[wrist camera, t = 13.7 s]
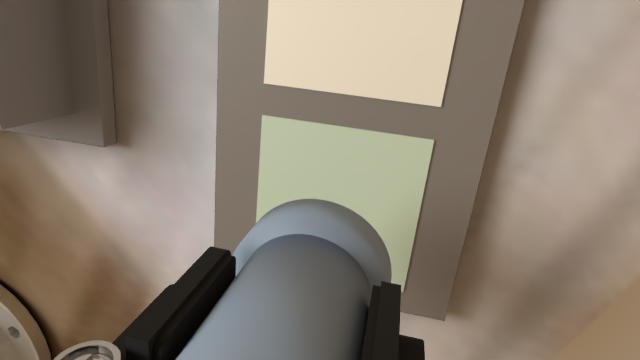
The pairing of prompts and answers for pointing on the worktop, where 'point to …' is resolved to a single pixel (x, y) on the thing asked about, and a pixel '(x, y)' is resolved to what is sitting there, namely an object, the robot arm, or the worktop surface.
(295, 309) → the pawn
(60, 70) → the button housing
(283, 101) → the track board
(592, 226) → the worktop surface
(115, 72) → the worktop surface
